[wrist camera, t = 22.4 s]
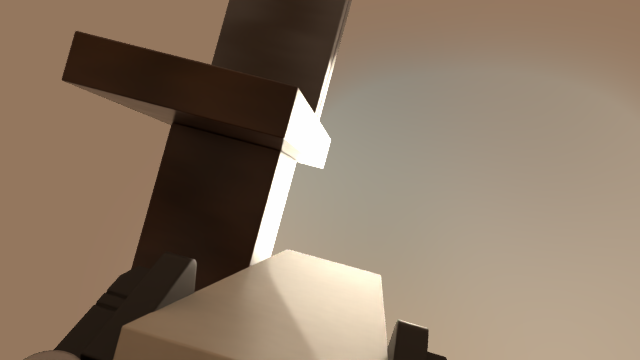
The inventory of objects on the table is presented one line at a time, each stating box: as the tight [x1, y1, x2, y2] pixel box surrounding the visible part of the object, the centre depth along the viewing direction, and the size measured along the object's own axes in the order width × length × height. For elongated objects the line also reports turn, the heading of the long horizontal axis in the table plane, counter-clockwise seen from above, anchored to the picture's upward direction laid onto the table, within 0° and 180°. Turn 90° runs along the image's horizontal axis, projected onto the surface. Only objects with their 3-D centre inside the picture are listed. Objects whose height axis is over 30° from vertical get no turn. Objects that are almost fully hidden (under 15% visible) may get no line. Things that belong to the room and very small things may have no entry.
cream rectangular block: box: [113, 249, 388, 360], centre depth 19 cm, size 5×19×2 cm, turn 174°
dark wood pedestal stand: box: [62, 0, 352, 292], centre depth 29 cm, size 9×16×43 cm, turn 174°
